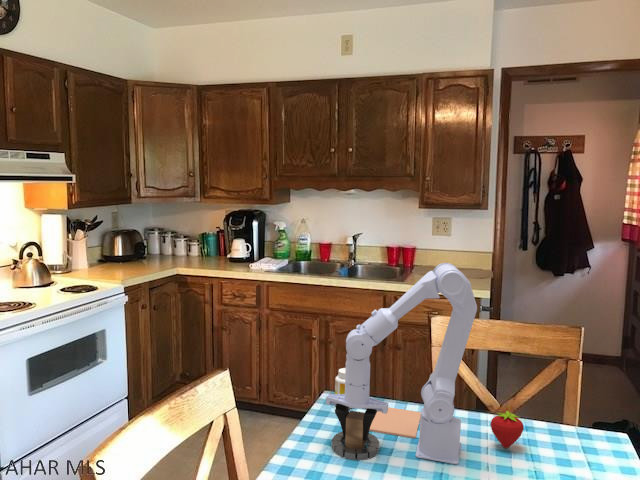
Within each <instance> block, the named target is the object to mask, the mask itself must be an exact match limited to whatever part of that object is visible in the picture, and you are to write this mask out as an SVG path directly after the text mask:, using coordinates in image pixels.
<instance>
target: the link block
mask: <svg viewBox="0 0 640 480" xmlns="http://www.w3.org/2000/svg"><path fill="white" fill-rule="evenodd" d="M364 413H365V412H362V411H356V410H351V409H349V413H348V415H347V417H346V435H345V442H344V446H345V447H347V448H351V449H364V448H366V444H367V443H366V441H364V439H363V436H364Z"/></svg>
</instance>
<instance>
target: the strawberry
mask: <svg viewBox="0 0 640 480" xmlns="http://www.w3.org/2000/svg"><path fill="white" fill-rule="evenodd" d="M509 411H510V412H509ZM496 414H497V415H495V416H494V417H493V418H492V419H491V420H490V429H491V432H492V434H493V435H494V437H495V439H497V441H498V442H499V443H500V445H501V446H502V447H503V448H504V449H509V448H510V447H511V446H512V445H513V444H514V443H516V442H517V440H518V439H520V437H521V436H522V434H523V431H524V423H523V422H522V421H521V416H517V415H516V414H514V413H512V412H511V409H510V406H509V405H508V410H507V411H505V413H504V412H503V413H500V412H496Z"/></svg>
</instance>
